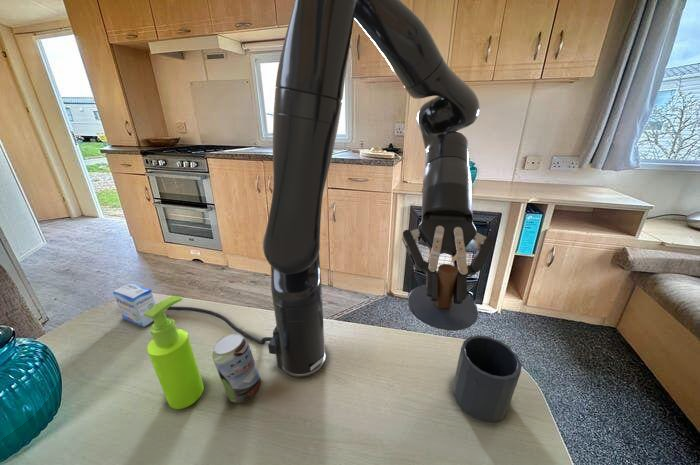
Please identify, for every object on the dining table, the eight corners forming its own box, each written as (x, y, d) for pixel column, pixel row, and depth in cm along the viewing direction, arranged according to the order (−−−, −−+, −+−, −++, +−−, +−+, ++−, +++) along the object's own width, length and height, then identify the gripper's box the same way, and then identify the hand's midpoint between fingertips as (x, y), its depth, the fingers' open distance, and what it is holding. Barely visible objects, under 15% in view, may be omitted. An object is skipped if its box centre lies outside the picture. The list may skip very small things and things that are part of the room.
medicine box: (123, 319, 70) (111, 291, 67) (140, 308, 74) (130, 281, 71) (143, 327, 68) (132, 299, 64) (161, 316, 72) (151, 288, 68)
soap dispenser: (214, 380, 55) (191, 297, 46) (185, 413, 49) (152, 325, 40) (191, 372, 56) (165, 290, 48) (160, 403, 50) (124, 316, 42)
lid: (407, 329, 38) (412, 285, 35) (407, 287, 47) (410, 249, 44) (485, 338, 36) (496, 293, 33) (468, 293, 45) (477, 254, 42)
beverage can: (251, 410, 49) (241, 361, 44) (215, 402, 50) (200, 353, 46) (268, 379, 55) (260, 332, 50) (234, 373, 56) (224, 327, 51)
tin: (457, 417, 48) (467, 374, 44) (449, 372, 56) (457, 332, 52) (514, 426, 47) (530, 383, 42) (497, 379, 55) (510, 339, 51)
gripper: (403, 178, 42) (396, 292, 36) (501, 182, 40) (511, 304, 34) (401, 201, 49) (394, 300, 43) (484, 206, 47) (490, 310, 41)
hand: (446, 301), depth 39 cm, fingers closed on lid, 2 cm apart
